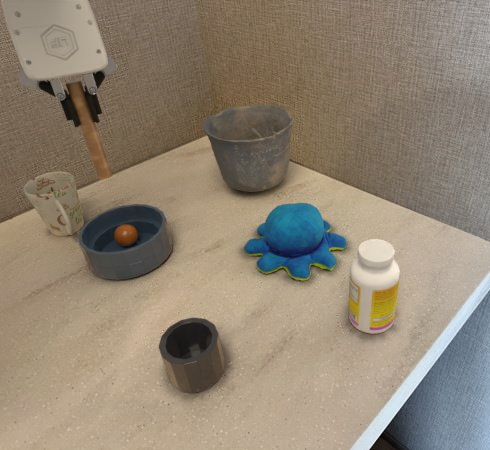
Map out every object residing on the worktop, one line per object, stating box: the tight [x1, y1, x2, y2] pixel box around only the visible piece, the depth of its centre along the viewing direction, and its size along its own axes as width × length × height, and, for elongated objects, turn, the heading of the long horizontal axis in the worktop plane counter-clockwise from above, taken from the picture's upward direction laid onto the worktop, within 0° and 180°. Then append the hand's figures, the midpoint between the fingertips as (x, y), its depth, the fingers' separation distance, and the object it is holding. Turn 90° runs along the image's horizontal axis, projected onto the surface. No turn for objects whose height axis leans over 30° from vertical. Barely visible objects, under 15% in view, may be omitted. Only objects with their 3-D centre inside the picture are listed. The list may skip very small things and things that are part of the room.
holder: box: [158, 317, 225, 394], centre depth 57 cm, size 7×7×6 cm
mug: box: [23, 171, 85, 237], centre depth 82 cm, size 8×13×10 cm, turn 40°
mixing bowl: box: [77, 203, 173, 281], centre depth 77 cm, size 14×14×6 cm
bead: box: [114, 224, 138, 246], centre depth 79 cm, size 4×4×4 cm
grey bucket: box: [202, 104, 295, 193], centre depth 91 cm, size 18×18×15 cm
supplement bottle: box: [348, 238, 401, 335], centre depth 61 cm, size 7×7×13 cm
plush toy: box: [243, 202, 348, 282], centre depth 76 cm, size 17×17×8 cm
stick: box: [64, 80, 113, 180], centre depth 64 cm, size 2×2×14 cm
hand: (86, 120), depth 63 cm, fingers closed on stick, 2 cm apart
